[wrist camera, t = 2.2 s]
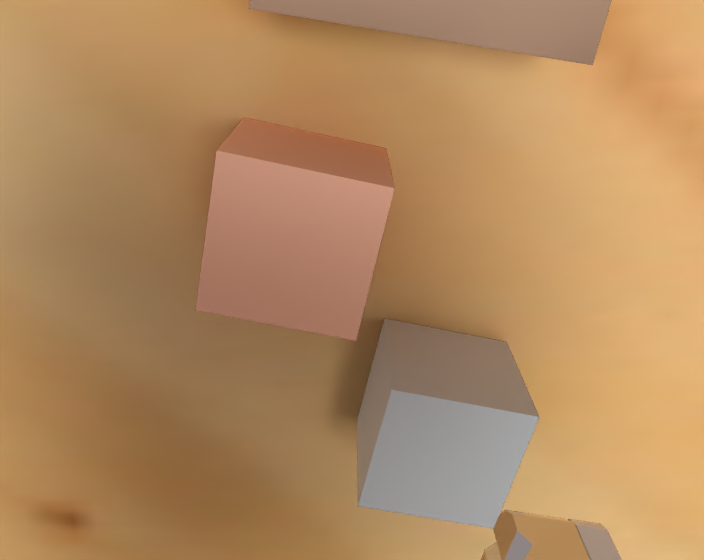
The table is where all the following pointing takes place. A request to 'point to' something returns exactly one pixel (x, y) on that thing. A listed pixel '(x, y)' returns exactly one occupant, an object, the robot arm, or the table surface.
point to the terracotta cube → (294, 228)
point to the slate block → (441, 425)
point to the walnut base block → (470, 22)
